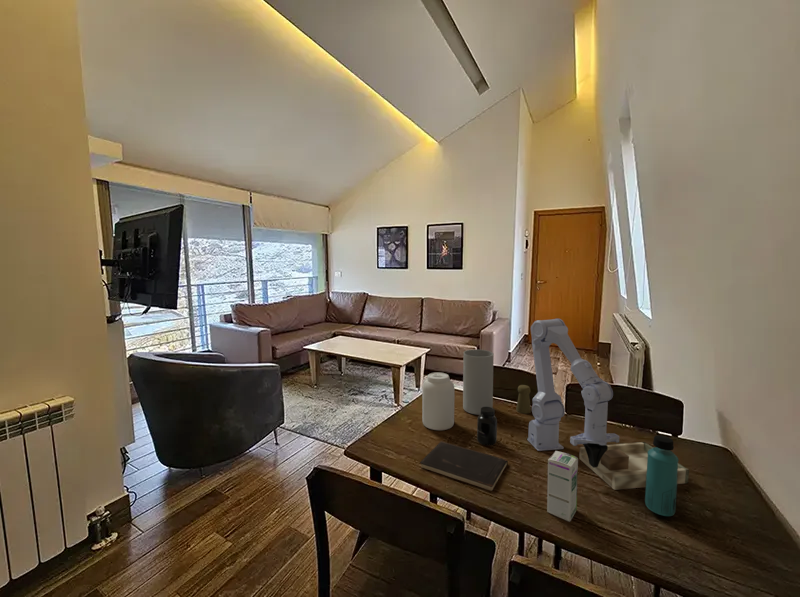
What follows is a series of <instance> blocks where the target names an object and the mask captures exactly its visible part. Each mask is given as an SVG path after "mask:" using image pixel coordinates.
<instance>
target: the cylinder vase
mask: <svg viewBox="0 0 800 597" xmlns="http://www.w3.org/2000/svg"><path fill="white" fill-rule="evenodd" d="M494 356H495V355H494V352H492V351H490V350H486V349H467V350H464V351H463V357H462V358H463V361H462V362H463V363H462V364H463V367H462V368H463V369H462V370H463V371H462V372H463V375H462V376H463V377H462V381H463V383H462V387H463V388H462V408H463V410H464V411H465V412H466V413H468V414H472V415H477V416H479V415H480V412H481V408H482V407H491V408H493V409H494V407H493V405H494V404H493V403H494V399H493V398H494V397H493V396H494V395H493V394H494Z"/></svg>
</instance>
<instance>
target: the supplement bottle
mask: <svg viewBox="0 0 800 597" xmlns="http://www.w3.org/2000/svg"><path fill="white" fill-rule="evenodd" d="M495 412H496V411H495V408H494V407H493V408H491V407H482V408H481V412H480V415H477V422H476V423H477V424H476V425H477V426H476V428H477V430H476V432H477V433H476V440H477V442H478V443H479V444H480V445H482V446H483V445H484V446H488V447H489V446H494V445H496V443H497V440H498V438H497V436H498V418H497V417H496V416H495Z"/></svg>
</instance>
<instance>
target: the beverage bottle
mask: <svg viewBox="0 0 800 597" xmlns="http://www.w3.org/2000/svg"><path fill="white" fill-rule="evenodd" d="M652 444H653V448H652V449H650V450H648V460H647V470H646V471H647V473H646V484H645V485H646V487H645V492H644V503H645V506H646V507H647V509H648V510H650V511H651V512H652V513H655V514H656V515H660V516H663V517H672V516H674V515H675V513H676V508H677V492H678V486H679V485H678V484H677V477H678V476H677V471H678V463H679V457H678V456H677V455H676V454H675V453H674V452H673V451H674V447H675V446H674V440H673V438H670V437H668V436H666V435H659V434H657V435H654V437H653V441H652Z"/></svg>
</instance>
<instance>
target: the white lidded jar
mask: <svg viewBox="0 0 800 597" xmlns="http://www.w3.org/2000/svg"><path fill="white" fill-rule="evenodd" d="M421 393H422V394H421V395H422V396H421V399H422V400H421V401H422V409H421V410H422V411H421V412H422V418H421V419H422V420H421V421H422V424H423V426H424V427H426V428H428V429H430V430H432V431H433V430H434V431H445V430H450V429H451V428H452V427H454V424H455V385H454V383H453V381H452V380H451V379H450V376H449V374H447V373H444V372H440V371H439V372H431V373H429V374H427V377H426V379H425V380H424V381H423V383H422V392H421Z"/></svg>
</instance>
